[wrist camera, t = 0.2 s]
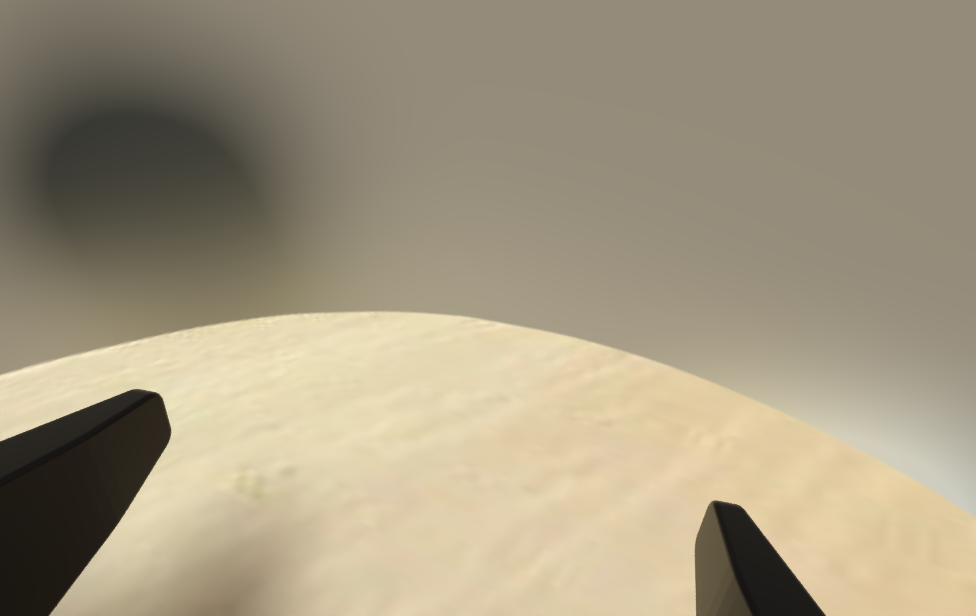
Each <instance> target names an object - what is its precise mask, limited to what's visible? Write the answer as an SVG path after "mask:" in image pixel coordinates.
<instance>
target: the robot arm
mask: <svg viewBox="0 0 976 616" xmlns="http://www.w3.org/2000/svg"><path fill="white" fill-rule="evenodd" d="M170 437H171V426H170V423H169V419H168V416H167V412H166V408H165V405H164V401H163V398H162V397H161V396H160V395H159V394H158V393H156V392H151V391H146V390H141V389H133V390H130V391H127V392H125V393H122V394H120V395H117V396H115V397H112V398H110V399H107V400H104V401H102V402H99V403H97V404H94V405H92V406H89V407H87V408H84V409H82V410H79V411H77V412H74V413H71V414H69V415H66V416H64V417H61V418H59V419H56V420H54V421H51V422H49V423H46V424H44V425H41V426H39V427H36V428H33V429H31V430H28V431H26V432H23V433H21V434H18V435H16V436H13V437H11V438H8V439H6V440H3V441H1V442H0V616H49V615H50V614H51V612H52V611H53V610H54V608H55V607H56V606H57V604H58V603H59V602H60V601H61V599H62V598H63V597H64V595H65V594H66V593H67V591H68V590H69V589H70V587H71V586H72V585H73V583H74V582H75V581H76V579H77V578H78V577H79V575H80V574H81V573H82V571H83V570H84V569H85V567H86V566H87V565H88V563H89V562H90V561H91V559H92V558H93V557H94V555H95V554H96V553H97V552H98V550H99V549H100V548H101V546H102V545H103V544H104V542H105V541H106V540H107V538H108V537H109V536H110V534H111V533H112V531H113V530H114V529H115V527H116V526H117V524H118V523H119V522H120V520H121V518H122V517H123V515H124V514H125V512H126V511H127V509H128V508H129V506H130V504H131V503H132V501H133V500H134V498H135V496H136V495H137V493H138V492H139V490H140V488H141V487H142V485H143V483H144V482H145V480H146V479H147V477H148V475H149V474H150V472H151V470H152V469H153V467H154V466H155V464H156V462H157V461H158V459H159V458H160V456H161V454H162V453H163V451H164V449H165V448H166V446H167V444H168V443H169V440H170ZM695 580H696V616H826V615H825V614H824V613H823V611H822V610H821V609H820V607H819V606H818V605H817V603H816V602H815V601H814V600H813V598H812V597H811V596H810V594H809V593H808V592H807V590H806V589H805V588H804V587H803V585H802V584H801V583H800V581H799V580H798V579H797V577H796V576H795V575H794V574H793V572H792V571H791V570H790V568H789V567H788V566H787V564H786V563H785V562H784V561H783V559H782V558H781V557H780V555H779V554H778V553H777V551H776V550H775V549H774V547H773V546H772V545H771V544H770V542H769V541H768V540H767V538H766V537H765V536H764V534H763V533H762V532H761V531H760V529H759V528H758V527H757V525H756V524H755V523H754V521H753V520H752V519H751V518H750V516H749V515H748V514H747V512H746V511H745V510H744V509H743V508H742V507H741V506H739V505H737V504H732V503H727V502H722V501H712V502H711V503H710V504H709V506H708V508H707V510H706V513H705V516H704V518H703V521H702V524H701V526H700V529H699V532H698V534H697V538H696V543H695Z"/></svg>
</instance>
